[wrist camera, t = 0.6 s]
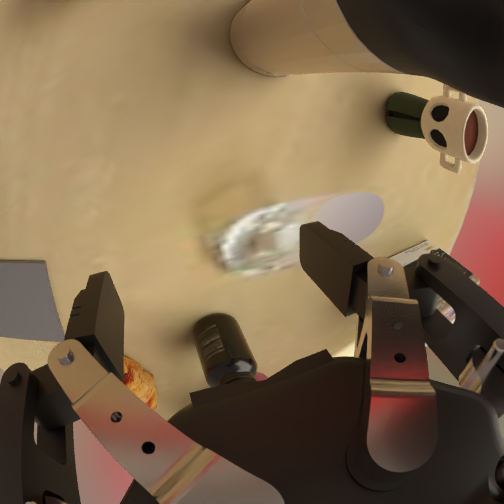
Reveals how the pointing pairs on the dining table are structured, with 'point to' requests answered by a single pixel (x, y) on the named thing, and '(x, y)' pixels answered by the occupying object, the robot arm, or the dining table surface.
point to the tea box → (412, 255)
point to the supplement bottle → (224, 351)
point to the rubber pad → (27, 302)
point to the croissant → (140, 382)
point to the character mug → (442, 125)
